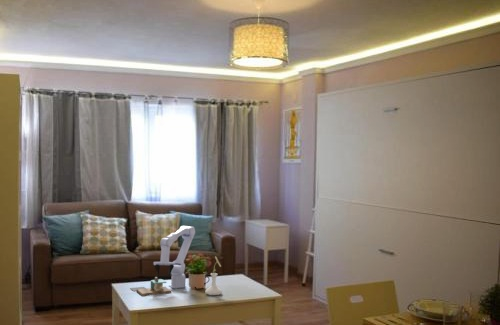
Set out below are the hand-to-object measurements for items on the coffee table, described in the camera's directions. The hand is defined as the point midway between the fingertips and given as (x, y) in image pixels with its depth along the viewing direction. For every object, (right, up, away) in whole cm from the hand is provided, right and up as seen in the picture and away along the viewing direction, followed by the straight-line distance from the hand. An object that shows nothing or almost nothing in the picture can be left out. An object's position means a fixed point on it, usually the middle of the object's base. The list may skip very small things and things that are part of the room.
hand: (163, 275), depth 348 cm
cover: (-3, -9, -1) cm, 9 cm away
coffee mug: (+24, -11, +11) cm, 29 cm away
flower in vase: (+34, -12, -4) cm, 37 cm away
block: (-3, -11, -1) cm, 11 cm away
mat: (-18, -10, +4) cm, 21 cm away
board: (-6, -10, -3) cm, 12 cm away
